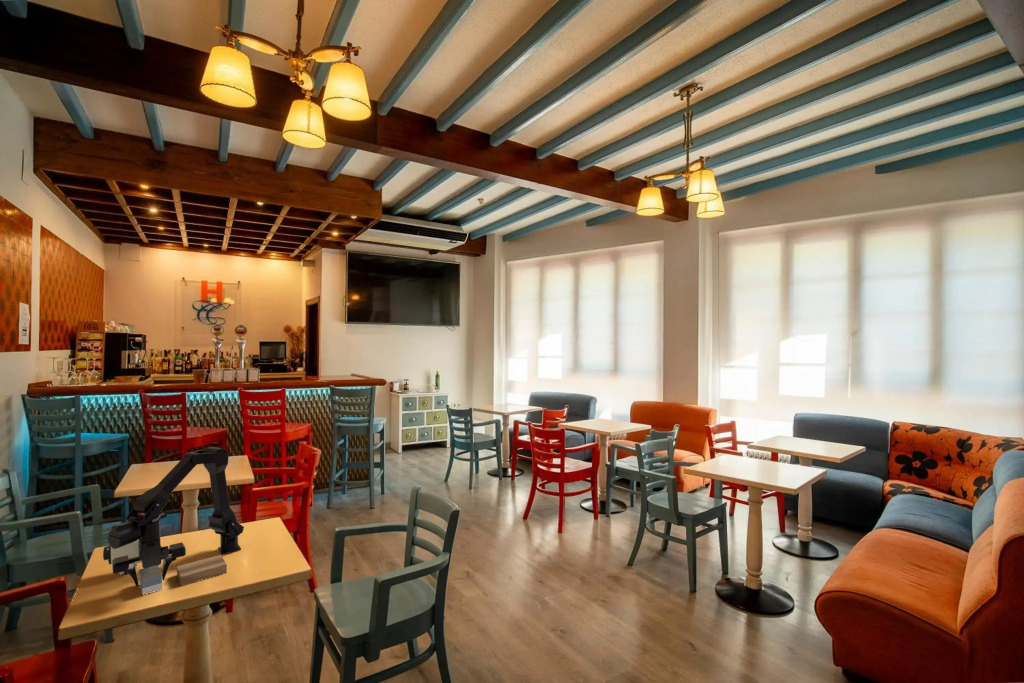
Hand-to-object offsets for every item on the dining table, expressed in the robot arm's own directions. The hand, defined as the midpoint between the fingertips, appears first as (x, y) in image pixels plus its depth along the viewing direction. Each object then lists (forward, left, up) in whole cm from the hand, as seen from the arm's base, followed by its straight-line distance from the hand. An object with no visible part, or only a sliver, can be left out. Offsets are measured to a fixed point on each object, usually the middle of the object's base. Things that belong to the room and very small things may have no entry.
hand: (150, 583), depth 160 cm
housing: (0, 0, -1) cm, 1 cm away
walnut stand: (+1, +14, -1) cm, 14 cm away
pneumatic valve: (-17, -5, -1) cm, 18 cm away
